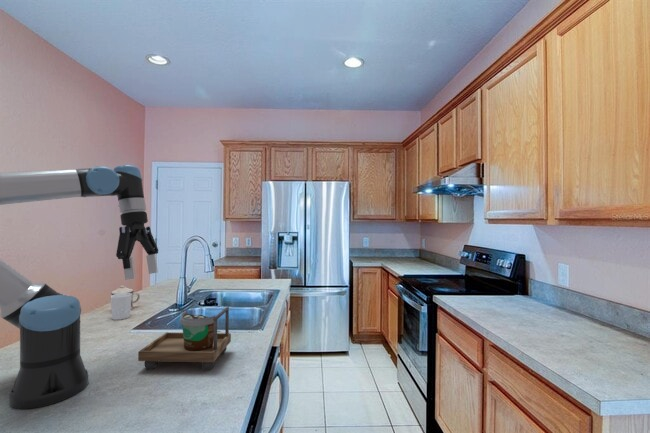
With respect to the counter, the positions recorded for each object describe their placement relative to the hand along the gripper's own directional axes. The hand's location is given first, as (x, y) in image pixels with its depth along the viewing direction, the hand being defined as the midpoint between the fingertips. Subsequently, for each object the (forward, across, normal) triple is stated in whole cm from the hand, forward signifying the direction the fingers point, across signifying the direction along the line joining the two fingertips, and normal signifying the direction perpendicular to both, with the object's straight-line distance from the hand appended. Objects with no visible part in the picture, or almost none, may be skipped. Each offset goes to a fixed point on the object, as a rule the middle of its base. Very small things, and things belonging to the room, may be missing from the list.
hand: (142, 276), depth 103 cm
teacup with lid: (+17, -50, -38) cm, 66 cm away
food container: (+24, +6, +15) cm, 30 cm away
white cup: (+18, -38, -33) cm, 54 cm away
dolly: (+28, +5, +12) cm, 31 cm away
